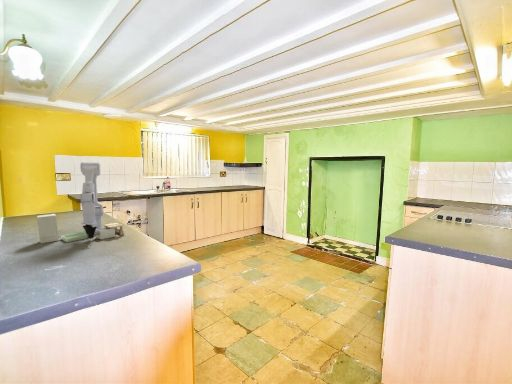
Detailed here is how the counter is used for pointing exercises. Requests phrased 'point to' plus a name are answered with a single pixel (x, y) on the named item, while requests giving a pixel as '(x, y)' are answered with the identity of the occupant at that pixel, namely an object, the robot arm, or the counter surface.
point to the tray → (74, 236)
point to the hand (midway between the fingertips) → (90, 237)
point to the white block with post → (104, 233)
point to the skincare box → (47, 228)
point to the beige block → (117, 230)
